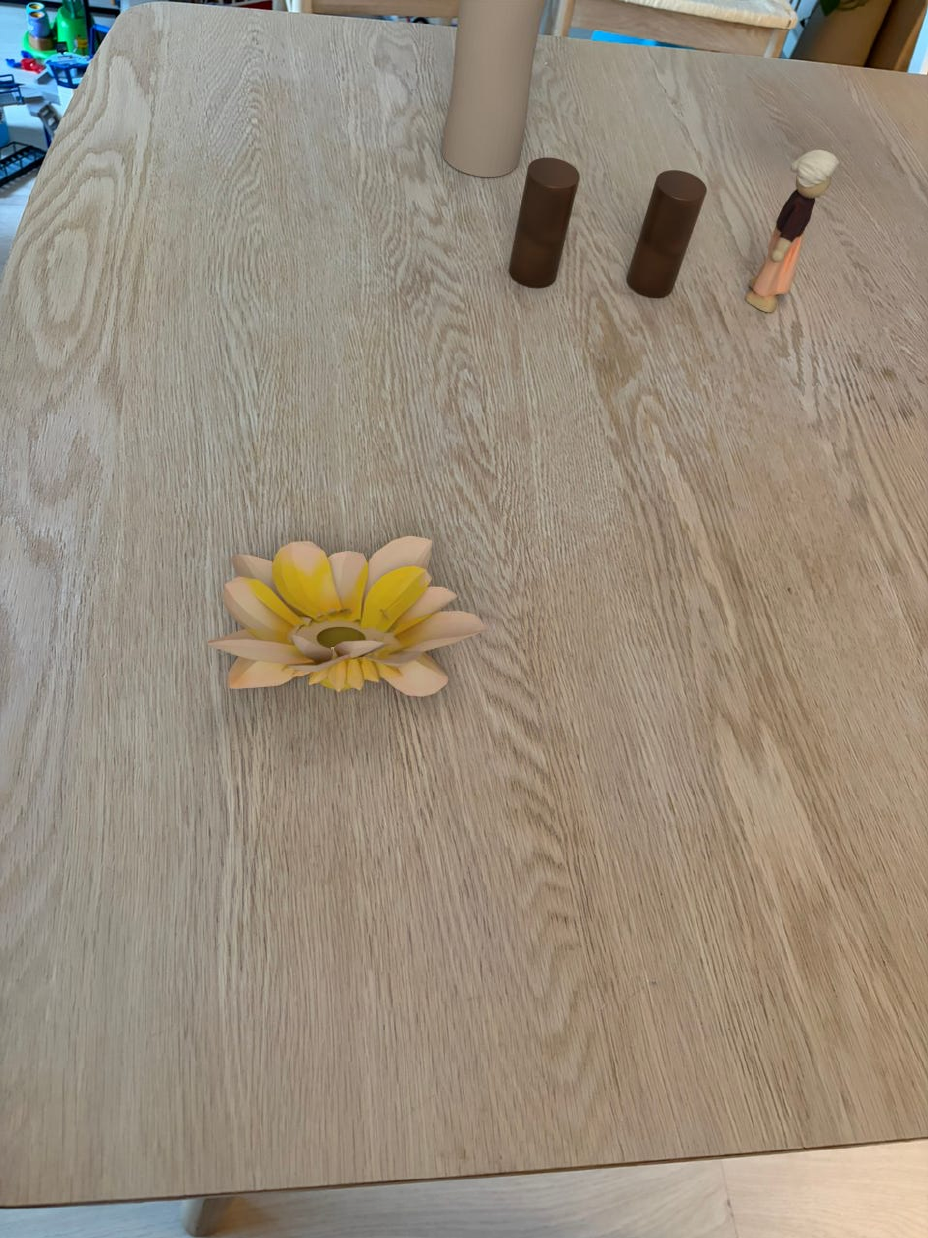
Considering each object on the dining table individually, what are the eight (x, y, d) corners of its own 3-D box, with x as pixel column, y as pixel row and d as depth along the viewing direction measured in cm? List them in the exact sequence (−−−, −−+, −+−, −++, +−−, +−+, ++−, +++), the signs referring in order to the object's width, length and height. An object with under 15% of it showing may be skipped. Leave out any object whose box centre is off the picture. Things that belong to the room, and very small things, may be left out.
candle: (531, 105, 100) (574, -134, 84) (514, 184, 92) (558, -64, 76) (458, 91, 100) (487, -152, 84) (435, 168, 92) (462, -84, 76)
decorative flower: (483, 553, 65) (494, 474, 55) (478, 727, 60) (490, 673, 51) (243, 542, 64) (214, 460, 55) (222, 716, 60) (187, 659, 51)
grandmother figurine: (787, 324, 85) (853, 184, 75) (741, 314, 85) (801, 173, 75) (785, 269, 90) (847, 129, 79) (742, 260, 90) (798, 119, 79)
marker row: (669, 269, 87) (702, 172, 80) (676, 299, 85) (711, 202, 78) (507, 255, 86) (525, 154, 78) (510, 286, 83) (529, 184, 76)
